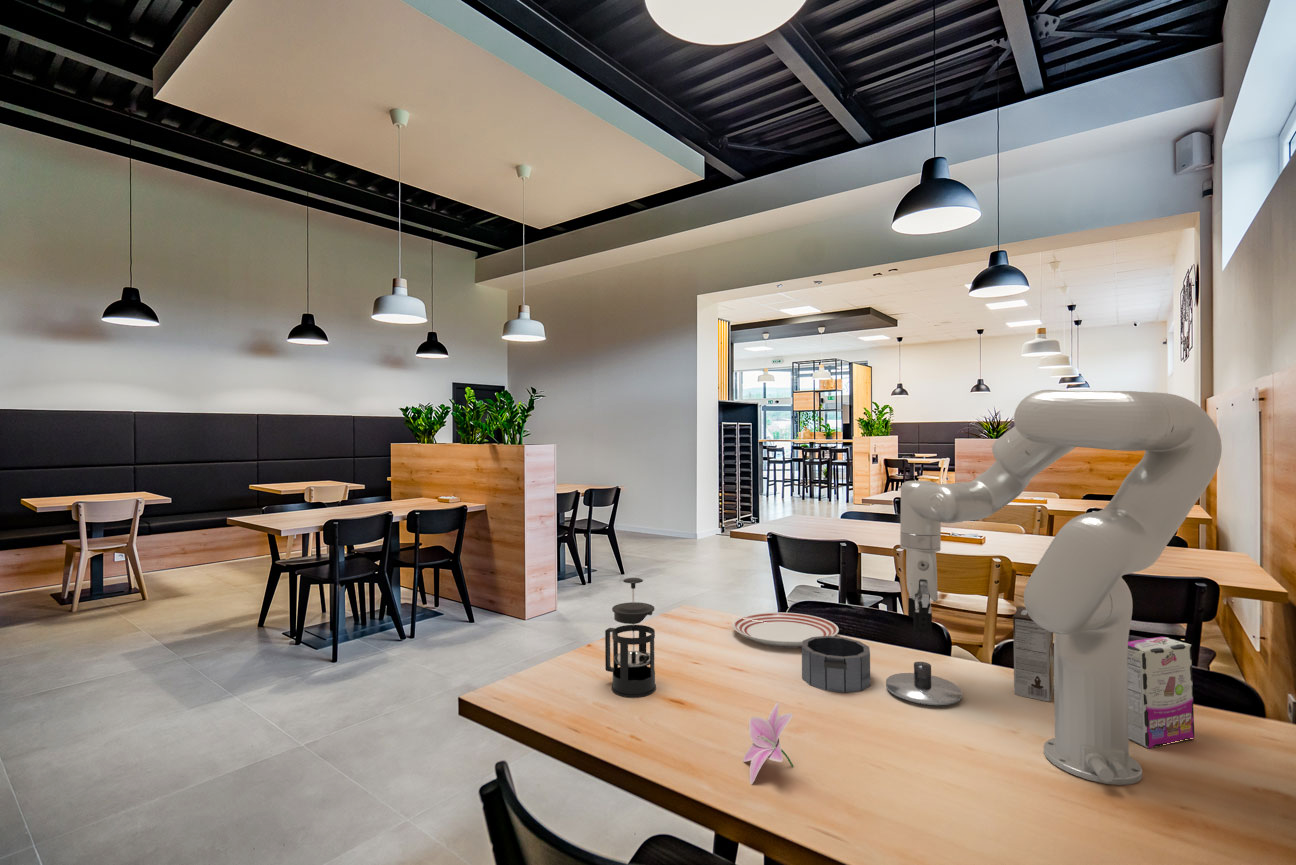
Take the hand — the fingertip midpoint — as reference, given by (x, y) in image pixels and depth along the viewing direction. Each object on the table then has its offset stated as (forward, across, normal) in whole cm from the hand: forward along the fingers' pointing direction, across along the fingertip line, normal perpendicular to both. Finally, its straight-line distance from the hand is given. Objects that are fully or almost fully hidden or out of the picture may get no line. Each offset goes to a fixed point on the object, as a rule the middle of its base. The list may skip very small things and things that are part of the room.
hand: (919, 624), depth 123 cm
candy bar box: (+13, -9, -37) cm, 40 cm away
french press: (+15, -15, +57) cm, 61 cm away
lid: (+14, -1, -1) cm, 14 cm away
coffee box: (+14, +7, -23) cm, 28 cm away
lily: (+14, -38, +26) cm, 48 cm away
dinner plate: (+15, +28, +29) cm, 44 cm away
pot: (+14, +2, +16) cm, 22 cm away
